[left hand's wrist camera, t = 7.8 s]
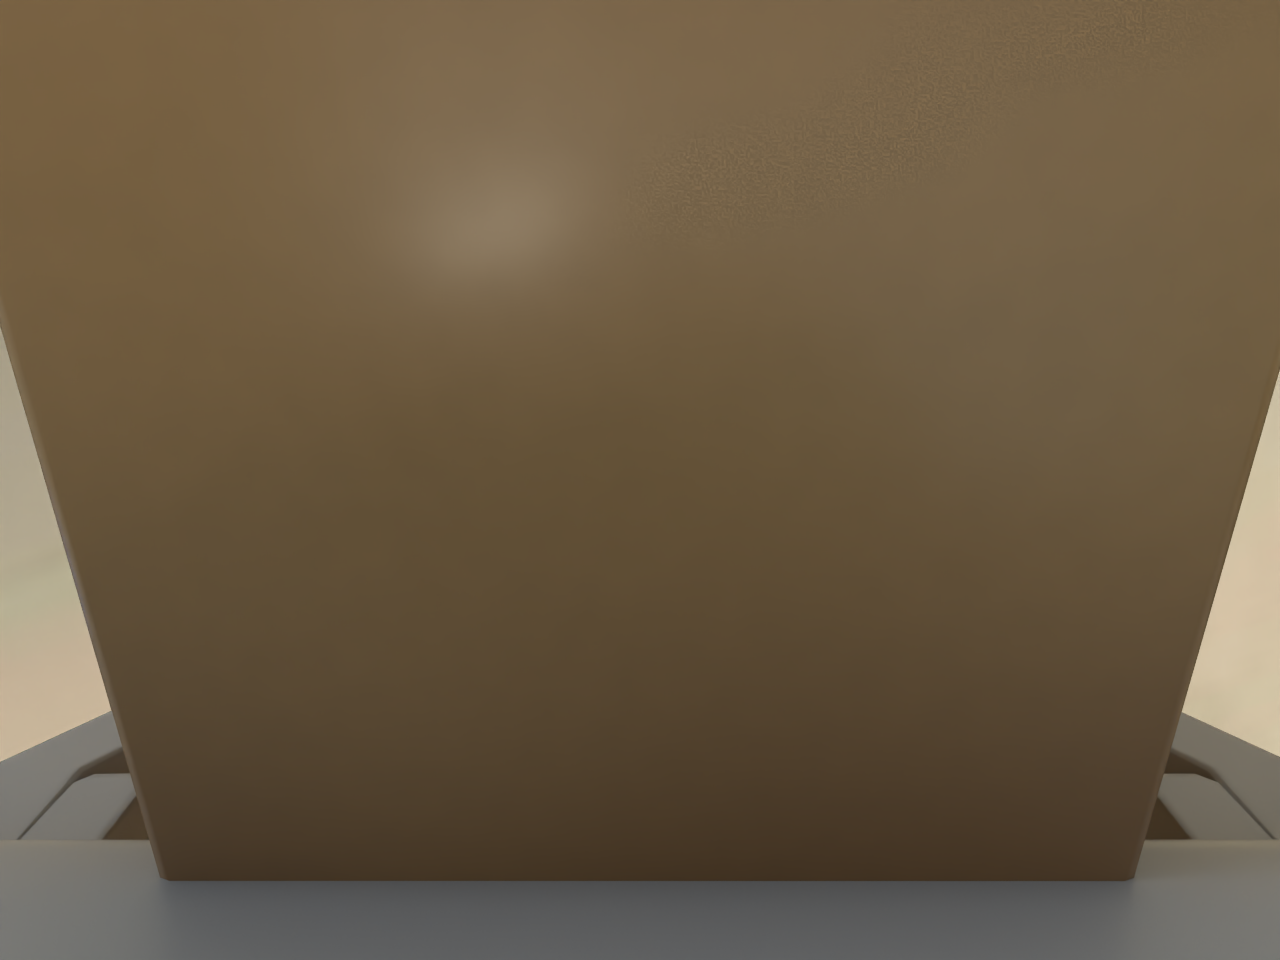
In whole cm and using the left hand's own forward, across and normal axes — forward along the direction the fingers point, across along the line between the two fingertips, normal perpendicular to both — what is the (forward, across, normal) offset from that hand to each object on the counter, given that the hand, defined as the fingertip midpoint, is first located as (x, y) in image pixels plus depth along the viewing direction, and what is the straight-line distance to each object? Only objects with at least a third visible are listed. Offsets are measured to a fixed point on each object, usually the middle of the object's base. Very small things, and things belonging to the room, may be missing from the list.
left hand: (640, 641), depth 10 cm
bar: (+4, 0, -8) cm, 9 cm away
